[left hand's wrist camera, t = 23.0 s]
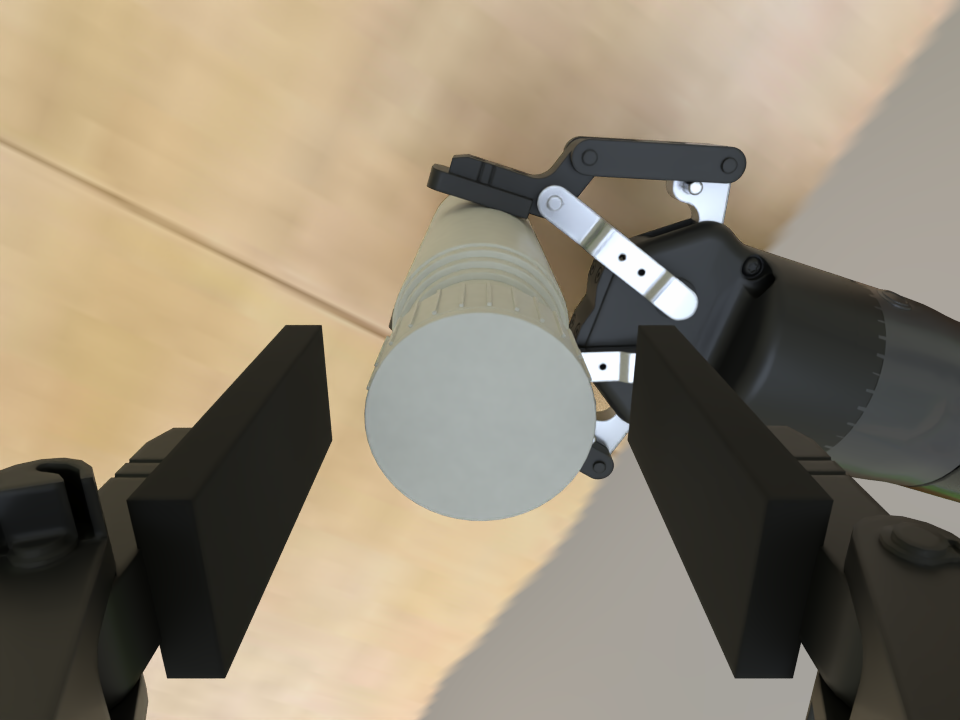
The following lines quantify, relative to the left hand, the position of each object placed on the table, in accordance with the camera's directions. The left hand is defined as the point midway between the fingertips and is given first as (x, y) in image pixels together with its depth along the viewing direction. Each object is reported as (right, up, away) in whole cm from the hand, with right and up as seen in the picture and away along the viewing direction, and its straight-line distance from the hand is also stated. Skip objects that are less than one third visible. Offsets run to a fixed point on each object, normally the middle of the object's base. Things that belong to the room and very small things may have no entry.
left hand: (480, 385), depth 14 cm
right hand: (-2, +5, +10) cm, 12 cm away
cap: (0, -1, -1) cm, 2 cm away
